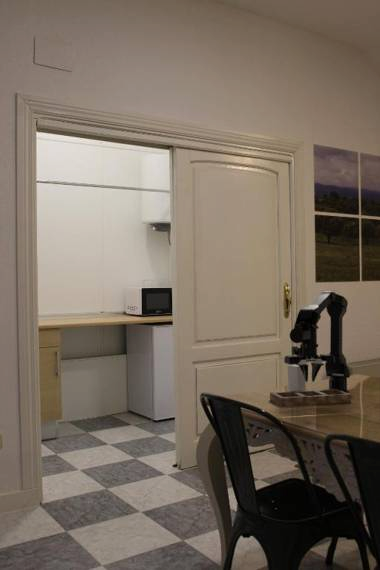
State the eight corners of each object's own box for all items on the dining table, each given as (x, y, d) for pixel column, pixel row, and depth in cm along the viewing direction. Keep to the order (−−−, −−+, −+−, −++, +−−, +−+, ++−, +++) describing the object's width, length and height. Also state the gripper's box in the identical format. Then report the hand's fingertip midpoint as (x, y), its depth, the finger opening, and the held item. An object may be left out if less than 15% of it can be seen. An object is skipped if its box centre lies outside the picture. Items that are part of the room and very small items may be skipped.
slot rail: (336, 396, 232) (336, 388, 232) (351, 402, 220) (350, 394, 220) (270, 400, 226) (269, 392, 226) (281, 406, 214) (281, 398, 214)
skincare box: (306, 395, 235) (306, 365, 235) (298, 396, 232) (297, 366, 232) (295, 393, 240) (295, 364, 240) (287, 394, 237) (287, 365, 237)
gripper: (322, 338, 233) (323, 377, 233) (278, 340, 229) (279, 379, 229) (335, 341, 222) (335, 381, 222) (289, 342, 218) (290, 384, 218)
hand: (309, 381), depth 223 cm, fingers closed
